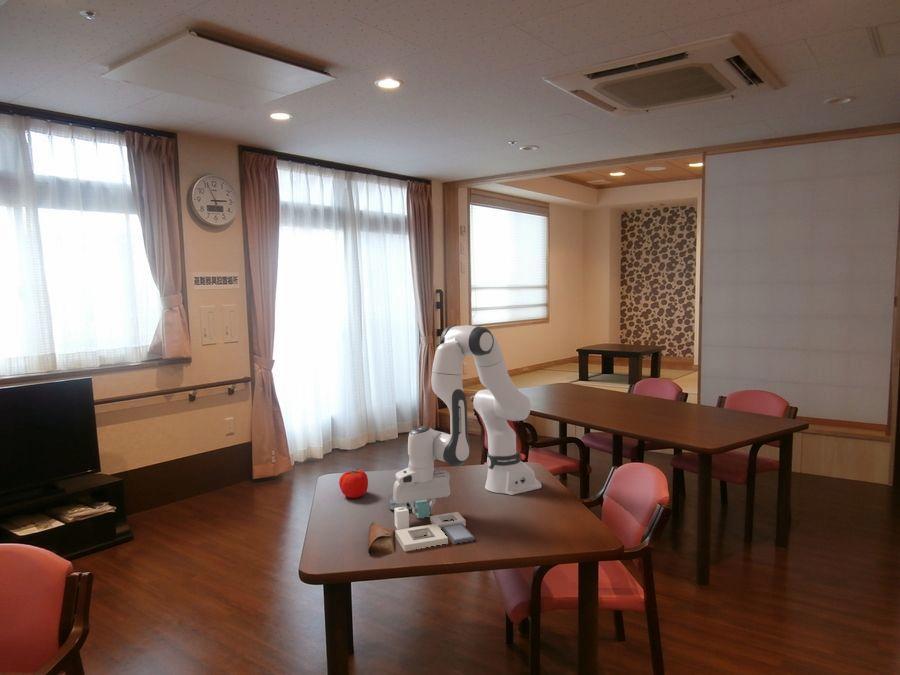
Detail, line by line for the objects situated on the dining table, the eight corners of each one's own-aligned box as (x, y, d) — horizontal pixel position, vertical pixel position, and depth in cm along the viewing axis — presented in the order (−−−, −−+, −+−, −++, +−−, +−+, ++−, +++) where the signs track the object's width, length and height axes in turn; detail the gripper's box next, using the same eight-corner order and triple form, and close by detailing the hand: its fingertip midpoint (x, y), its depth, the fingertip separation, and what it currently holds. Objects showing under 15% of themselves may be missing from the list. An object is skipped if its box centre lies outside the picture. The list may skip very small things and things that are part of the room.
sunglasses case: (396, 553, 178) (384, 535, 177) (376, 566, 178) (364, 548, 177) (394, 529, 196) (383, 513, 195) (376, 541, 195) (365, 525, 195)
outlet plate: (436, 529, 195) (436, 523, 195) (448, 544, 184) (447, 537, 184) (395, 536, 191) (395, 529, 190) (404, 551, 179) (404, 544, 179)
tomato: (371, 490, 235) (370, 464, 235) (365, 501, 223) (364, 475, 222) (343, 490, 236) (342, 465, 235) (336, 502, 223) (335, 475, 222)
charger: (406, 523, 201) (405, 506, 200) (409, 527, 197) (408, 510, 197) (394, 525, 200) (394, 507, 199) (397, 529, 196) (397, 511, 195)
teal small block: (426, 513, 209) (426, 499, 209) (429, 517, 206) (429, 503, 205) (415, 514, 208) (415, 500, 208) (418, 518, 204) (418, 504, 204)
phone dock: (457, 517, 205) (457, 511, 205) (479, 540, 186) (478, 534, 186) (430, 521, 202) (430, 516, 201) (449, 545, 183) (448, 539, 183)
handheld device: (417, 492, 231) (417, 481, 231) (414, 512, 211) (413, 500, 211) (393, 493, 232) (393, 481, 231) (387, 513, 212) (386, 500, 211)
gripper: (446, 466, 212) (447, 504, 213) (391, 474, 205) (392, 512, 207) (452, 472, 206) (453, 510, 207) (395, 479, 199) (396, 519, 201)
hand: (422, 511), depth 207 cm, fingers closed on teal small block, 4 cm apart
